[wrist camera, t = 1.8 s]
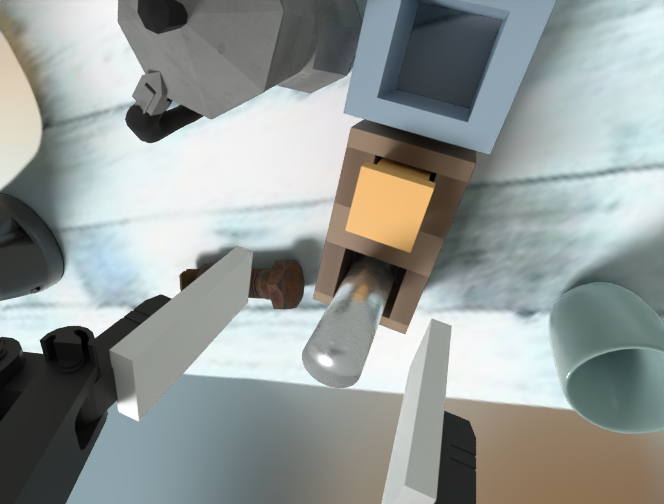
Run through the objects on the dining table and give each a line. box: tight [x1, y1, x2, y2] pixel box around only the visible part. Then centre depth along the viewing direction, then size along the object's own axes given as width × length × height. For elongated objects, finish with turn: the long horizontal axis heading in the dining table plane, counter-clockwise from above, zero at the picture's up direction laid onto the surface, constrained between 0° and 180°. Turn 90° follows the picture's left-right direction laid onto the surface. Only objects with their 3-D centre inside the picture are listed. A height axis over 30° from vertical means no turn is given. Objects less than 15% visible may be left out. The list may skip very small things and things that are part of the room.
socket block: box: [313, 119, 476, 334], centre depth 33 cm, size 9×16×6 cm, turn 168°
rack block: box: [344, 0, 556, 155], centre depth 26 cm, size 10×9×7 cm
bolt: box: [179, 260, 304, 309], centre depth 43 cm, size 6×5×15 cm
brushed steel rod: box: [302, 253, 399, 388], centre depth 31 cm, size 4×4×16 cm
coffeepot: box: [118, 0, 362, 143], centre depth 24 cm, size 15×9×18 cm, turn 137°
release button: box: [345, 157, 436, 253], centre depth 28 cm, size 5×5×7 cm
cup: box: [549, 282, 664, 433], centre depth 29 cm, size 8×8×10 cm
